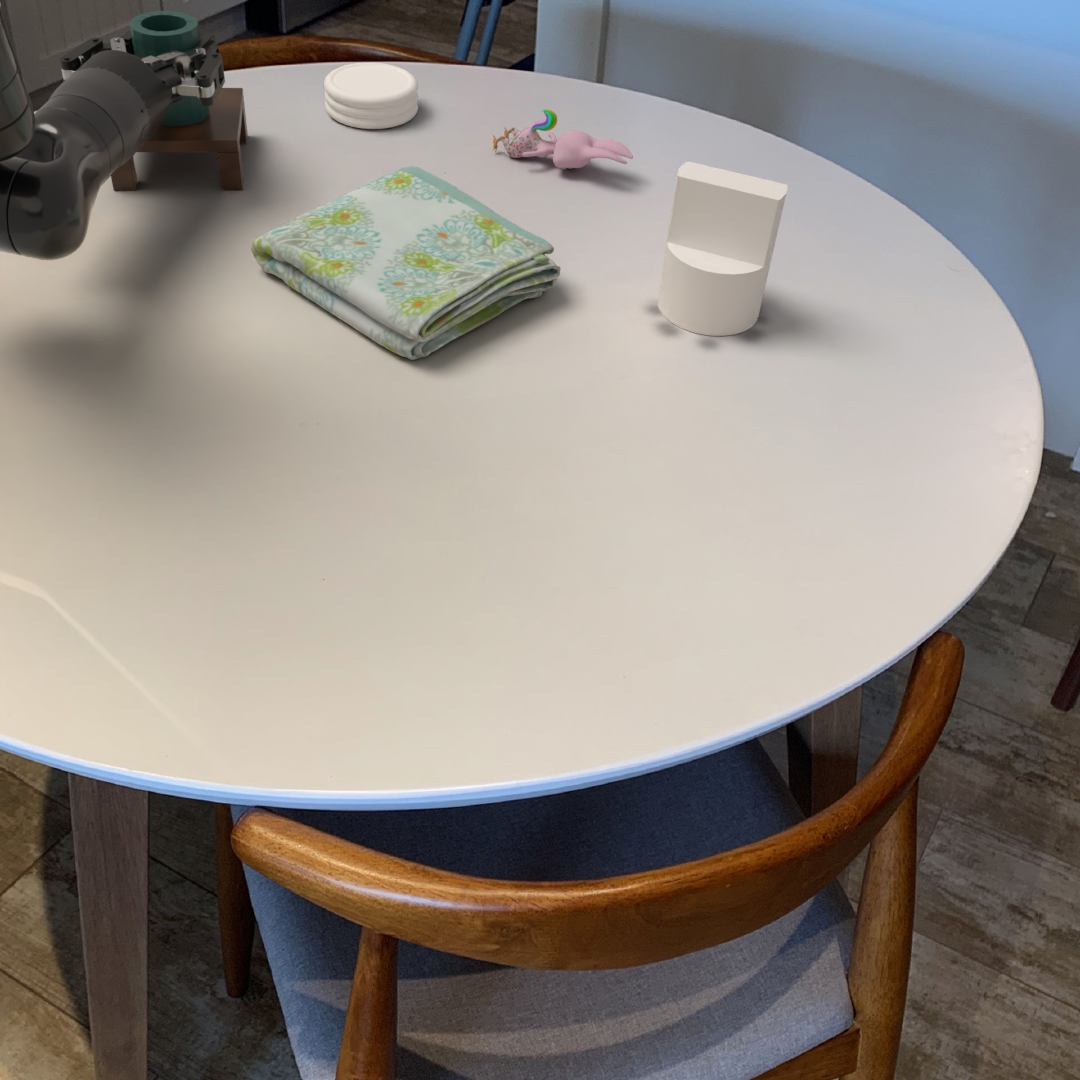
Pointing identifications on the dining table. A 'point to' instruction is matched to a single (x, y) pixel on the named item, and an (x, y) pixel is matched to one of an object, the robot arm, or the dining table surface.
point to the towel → (408, 261)
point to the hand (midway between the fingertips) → (177, 40)
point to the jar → (162, 36)
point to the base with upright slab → (718, 249)
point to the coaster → (371, 95)
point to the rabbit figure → (560, 145)
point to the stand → (201, 141)
